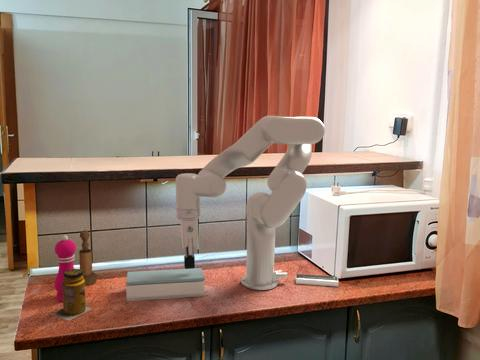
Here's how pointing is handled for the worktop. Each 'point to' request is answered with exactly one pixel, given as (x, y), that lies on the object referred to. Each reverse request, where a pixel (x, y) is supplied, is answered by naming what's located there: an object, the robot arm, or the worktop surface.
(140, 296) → the white open box
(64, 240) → the pepper mill
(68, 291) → the condiment
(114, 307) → the worktop surface
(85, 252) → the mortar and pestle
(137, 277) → the cover
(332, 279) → the multiport hub
